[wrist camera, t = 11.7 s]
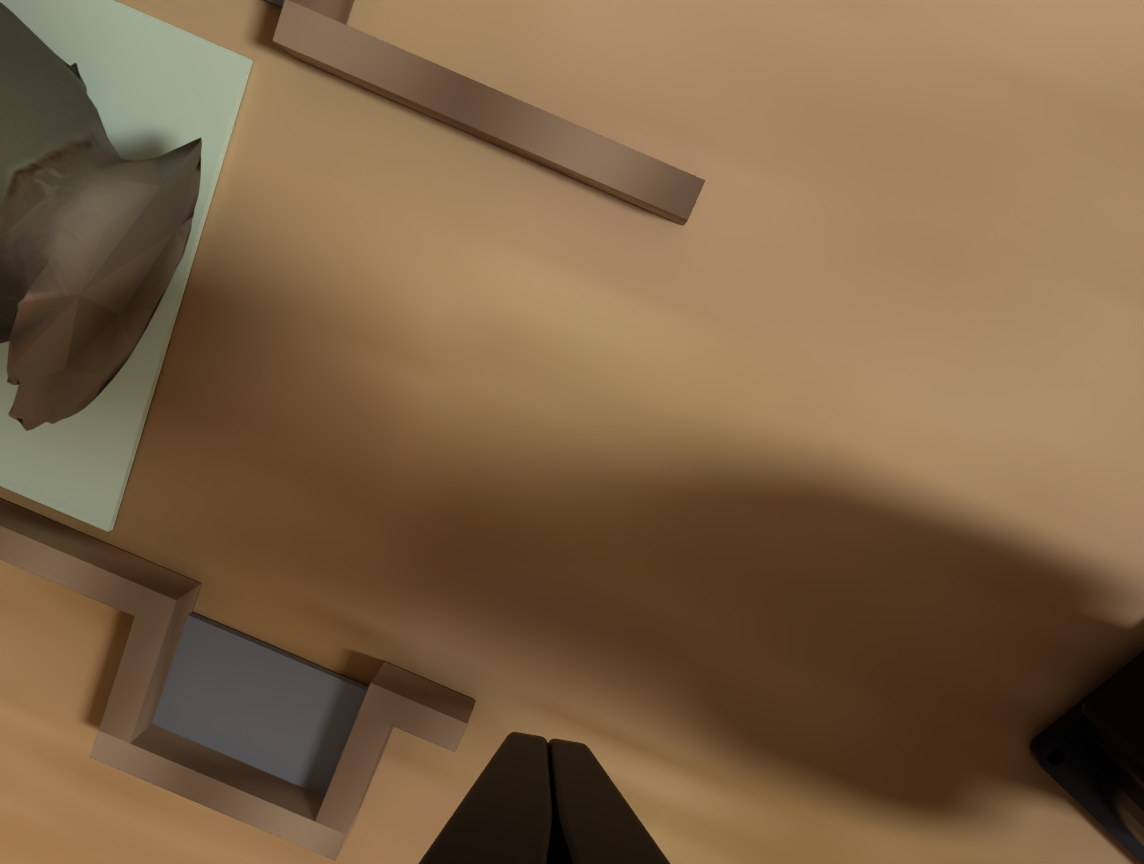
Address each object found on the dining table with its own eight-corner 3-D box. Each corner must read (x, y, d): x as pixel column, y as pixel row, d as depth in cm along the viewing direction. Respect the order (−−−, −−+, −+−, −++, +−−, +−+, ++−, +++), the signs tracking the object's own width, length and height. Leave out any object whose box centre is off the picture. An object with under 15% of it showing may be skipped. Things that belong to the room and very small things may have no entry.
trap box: (786, -10, 17) (798, -33, 16) (407, 855, 22) (396, 886, 21) (-48, -373, 17) (-98, -424, 16) (-233, 585, 22) (-280, 601, 21)
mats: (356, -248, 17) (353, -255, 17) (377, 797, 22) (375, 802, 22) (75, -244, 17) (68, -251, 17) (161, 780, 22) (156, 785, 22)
